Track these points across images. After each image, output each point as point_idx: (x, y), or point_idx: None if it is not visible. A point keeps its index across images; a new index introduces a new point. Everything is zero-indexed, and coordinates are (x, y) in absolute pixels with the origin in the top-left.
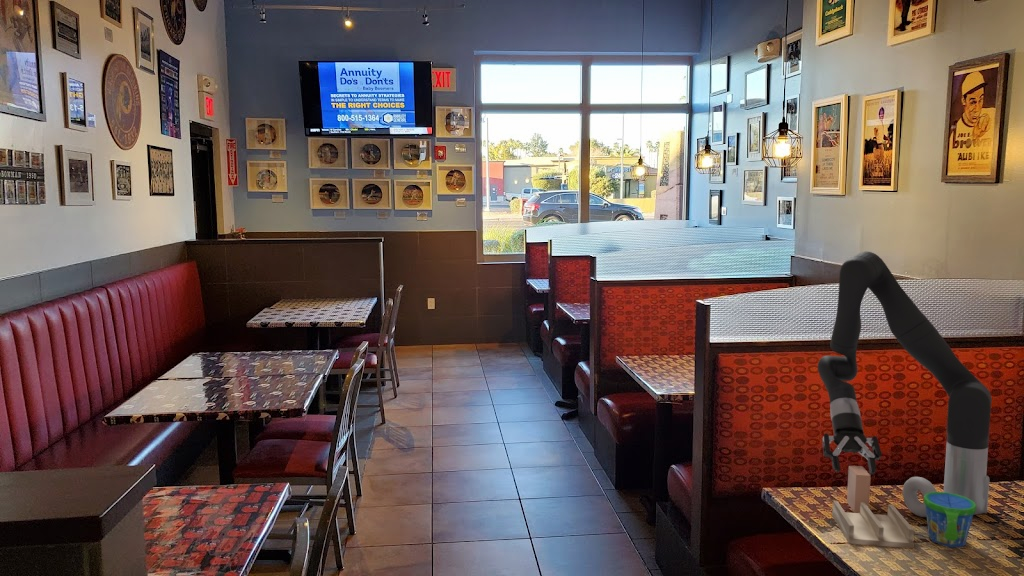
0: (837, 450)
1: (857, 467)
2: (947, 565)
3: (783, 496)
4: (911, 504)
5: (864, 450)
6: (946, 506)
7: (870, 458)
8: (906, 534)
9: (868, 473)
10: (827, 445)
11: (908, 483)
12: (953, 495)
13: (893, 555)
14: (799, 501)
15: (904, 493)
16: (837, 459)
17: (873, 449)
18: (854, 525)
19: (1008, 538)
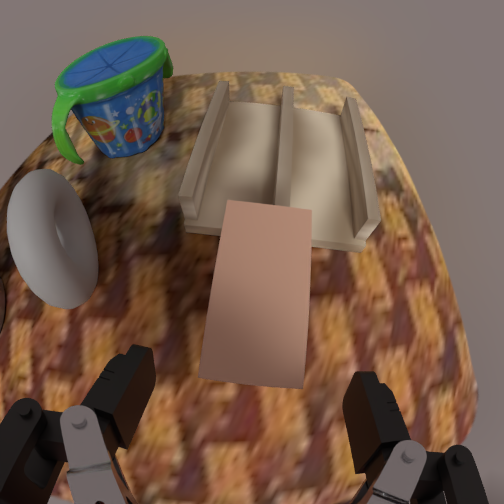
0: (395, 487)
1: (250, 350)
2: (200, 76)
3: (456, 390)
4: (89, 257)
5: (117, 480)
6: (138, 45)
7: (106, 411)
8: (226, 102)
9: (222, 234)
10: (471, 499)
11: (53, 240)
12: (66, 86)
13: (275, 92)
14: (427, 359)
15: (80, 275)
16: (384, 420)
17: (36, 493)
18: (324, 162)
19: (23, 168)
